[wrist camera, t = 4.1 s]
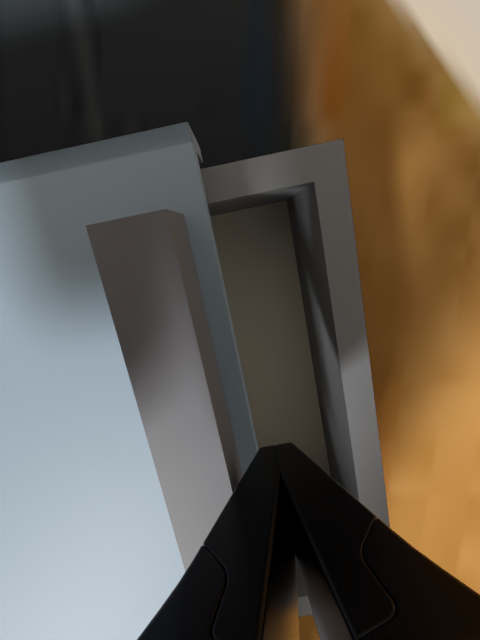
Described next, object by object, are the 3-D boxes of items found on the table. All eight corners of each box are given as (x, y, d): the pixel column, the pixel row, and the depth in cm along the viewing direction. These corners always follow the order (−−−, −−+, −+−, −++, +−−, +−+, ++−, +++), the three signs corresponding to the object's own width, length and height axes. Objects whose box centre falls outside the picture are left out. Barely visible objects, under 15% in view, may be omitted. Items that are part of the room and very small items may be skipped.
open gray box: (346, 479, 18) (398, 602, 12) (-81, 550, 19) (-228, 696, 13) (301, 176, 14) (343, 138, 8) (-213, 284, 15) (-491, 316, 10)
